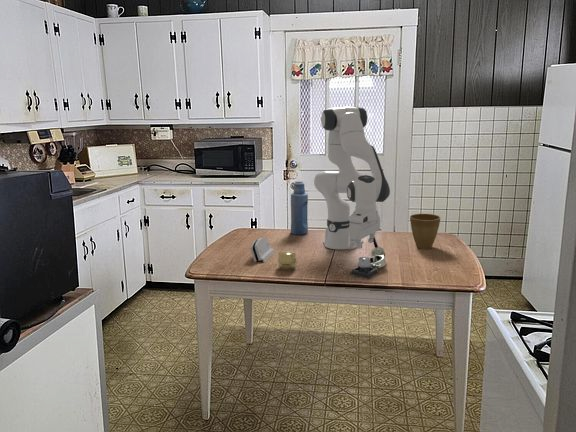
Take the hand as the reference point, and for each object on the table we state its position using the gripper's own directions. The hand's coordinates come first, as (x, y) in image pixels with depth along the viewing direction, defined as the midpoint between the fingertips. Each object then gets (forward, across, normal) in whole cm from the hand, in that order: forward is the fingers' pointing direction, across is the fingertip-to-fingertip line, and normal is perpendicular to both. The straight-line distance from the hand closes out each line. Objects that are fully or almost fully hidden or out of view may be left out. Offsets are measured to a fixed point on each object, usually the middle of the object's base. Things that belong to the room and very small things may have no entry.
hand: (365, 245), depth 209 cm
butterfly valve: (+14, -12, -1) cm, 18 cm away
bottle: (+15, -35, -63) cm, 74 cm away
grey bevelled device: (+14, +9, -52) cm, 54 cm away
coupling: (+12, +1, 0) cm, 12 cm away
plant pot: (+15, -51, +5) cm, 53 cm away
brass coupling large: (+13, +15, -32) cm, 37 cm away
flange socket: (+13, +1, 0) cm, 13 cm away
